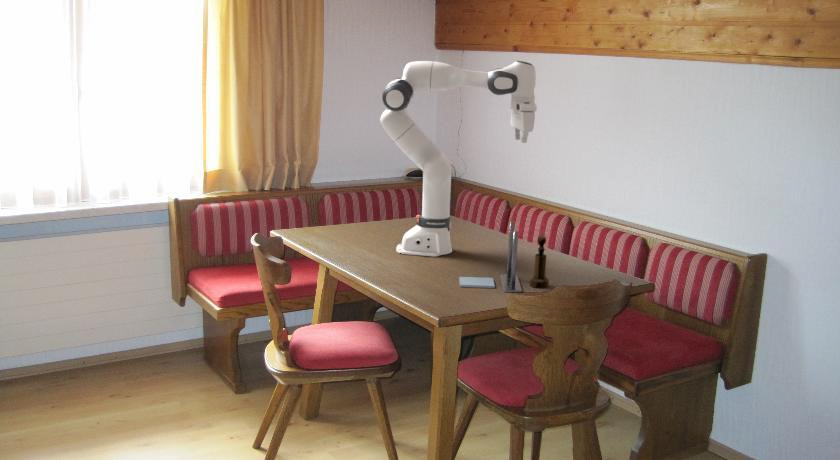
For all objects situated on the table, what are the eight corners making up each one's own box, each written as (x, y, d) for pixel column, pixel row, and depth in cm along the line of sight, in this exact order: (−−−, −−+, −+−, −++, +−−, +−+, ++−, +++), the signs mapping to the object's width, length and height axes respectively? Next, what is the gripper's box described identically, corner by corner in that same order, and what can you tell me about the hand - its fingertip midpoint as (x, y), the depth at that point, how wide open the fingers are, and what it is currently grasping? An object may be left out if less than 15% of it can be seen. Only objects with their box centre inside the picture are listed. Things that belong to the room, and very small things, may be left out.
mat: (460, 287, 298) (460, 284, 298) (459, 278, 308) (459, 276, 308) (494, 288, 298) (494, 285, 298) (492, 280, 308) (492, 277, 308)
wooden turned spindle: (535, 281, 307) (538, 232, 303) (551, 285, 304) (555, 235, 300) (526, 286, 302) (529, 236, 298) (543, 289, 299) (546, 239, 294)
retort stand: (504, 292, 294) (507, 232, 289) (500, 277, 312) (503, 220, 308) (521, 293, 294) (525, 233, 289) (516, 277, 312) (520, 221, 308)
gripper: (507, 102, 336) (505, 137, 339) (521, 106, 316) (519, 144, 320) (523, 102, 337) (521, 137, 340) (538, 107, 317) (536, 144, 320)
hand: (520, 141), depth 330 cm, fingers open, 8 cm apart
